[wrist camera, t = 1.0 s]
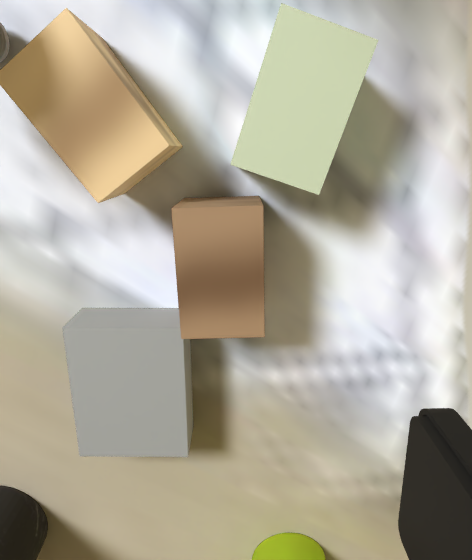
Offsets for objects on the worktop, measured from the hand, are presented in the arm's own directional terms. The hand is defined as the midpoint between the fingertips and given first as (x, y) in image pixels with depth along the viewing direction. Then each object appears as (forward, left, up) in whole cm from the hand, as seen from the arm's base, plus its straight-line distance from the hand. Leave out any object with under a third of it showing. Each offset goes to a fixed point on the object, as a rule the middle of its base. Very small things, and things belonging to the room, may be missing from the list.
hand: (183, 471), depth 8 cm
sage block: (-8, +4, -18) cm, 21 cm away
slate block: (+8, -6, -19) cm, 21 cm away
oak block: (-8, -6, -18) cm, 21 cm away
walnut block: (0, 0, -18) cm, 18 cm away
